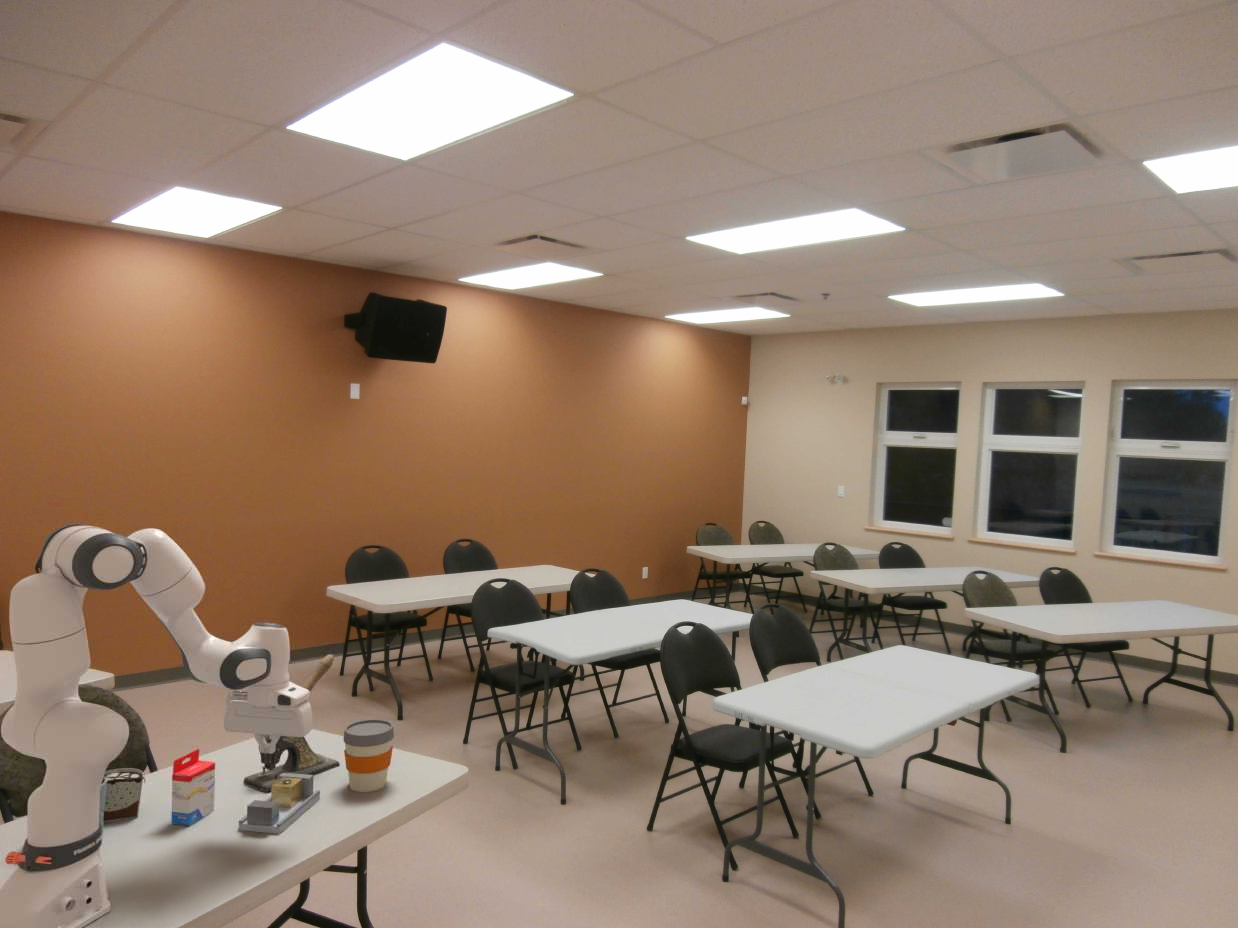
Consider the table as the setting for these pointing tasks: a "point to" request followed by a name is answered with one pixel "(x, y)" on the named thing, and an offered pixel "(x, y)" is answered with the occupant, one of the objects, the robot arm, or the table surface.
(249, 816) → the block
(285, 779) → the housing
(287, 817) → the press bed
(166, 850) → the table surface
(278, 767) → the embossing press
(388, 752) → the reusable coffee cup
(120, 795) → the food container
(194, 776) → the ink box
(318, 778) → the table surface
